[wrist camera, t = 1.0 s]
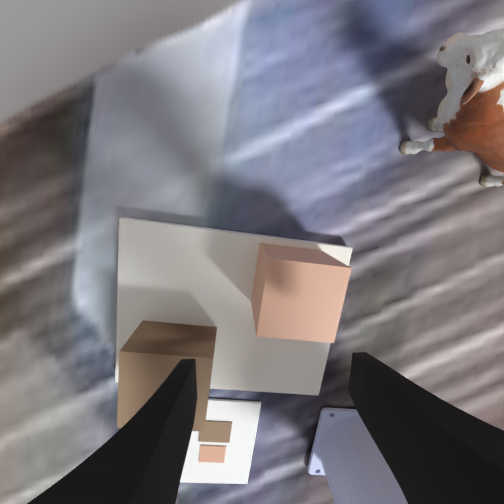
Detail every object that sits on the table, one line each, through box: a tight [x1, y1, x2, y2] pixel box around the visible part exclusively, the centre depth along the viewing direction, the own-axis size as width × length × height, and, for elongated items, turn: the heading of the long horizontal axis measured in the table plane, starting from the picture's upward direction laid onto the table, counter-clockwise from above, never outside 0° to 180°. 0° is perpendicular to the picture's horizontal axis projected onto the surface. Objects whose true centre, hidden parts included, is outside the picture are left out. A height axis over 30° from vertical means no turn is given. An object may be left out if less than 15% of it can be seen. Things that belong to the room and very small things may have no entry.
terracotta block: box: [251, 243, 351, 343], centre depth 17 cm, size 5×5×5 cm
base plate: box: [115, 217, 353, 395], centre depth 20 cm, size 18×14×1 cm
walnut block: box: [117, 321, 217, 432], centre depth 18 cm, size 6×6×4 cm
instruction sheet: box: [180, 398, 261, 484], centre depth 23 cm, size 8×10×1 cm
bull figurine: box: [400, 29, 504, 187], centre depth 15 cm, size 4×13×8 cm, turn 67°
